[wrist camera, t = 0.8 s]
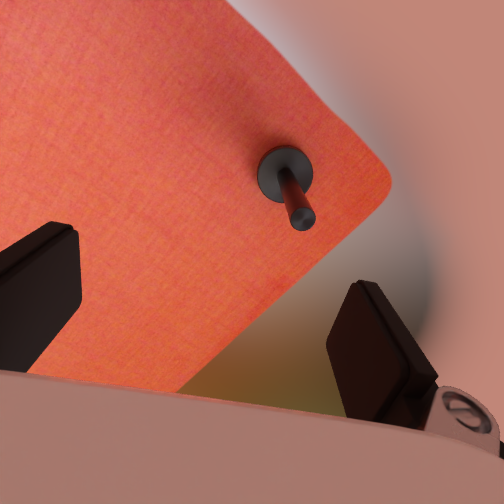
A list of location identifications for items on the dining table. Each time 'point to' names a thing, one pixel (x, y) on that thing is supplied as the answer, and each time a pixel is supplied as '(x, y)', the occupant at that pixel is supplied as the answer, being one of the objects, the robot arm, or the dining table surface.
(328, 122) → the dining table surface
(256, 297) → the dining table surface
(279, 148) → the black plunger
